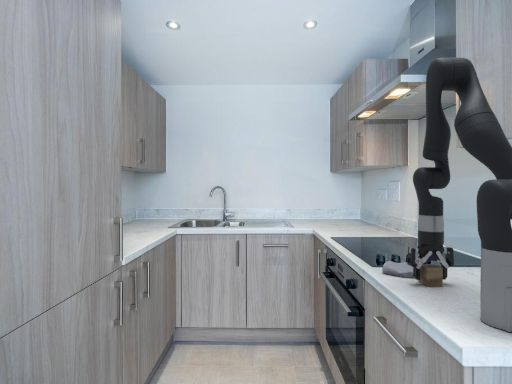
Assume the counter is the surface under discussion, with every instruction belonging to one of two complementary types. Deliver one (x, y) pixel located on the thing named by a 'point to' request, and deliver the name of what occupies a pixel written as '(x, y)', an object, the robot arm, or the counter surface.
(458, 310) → the counter surface
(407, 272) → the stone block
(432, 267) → the walnut block
